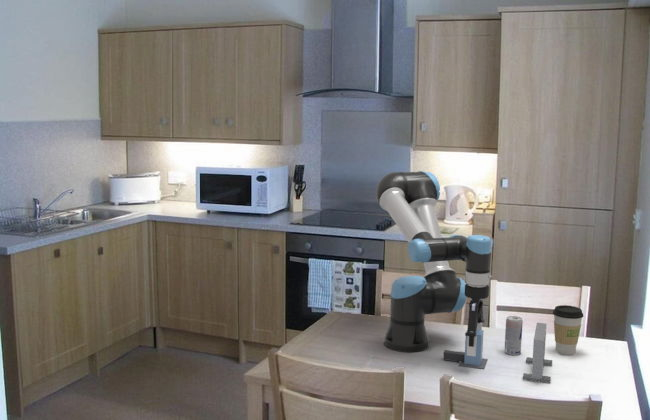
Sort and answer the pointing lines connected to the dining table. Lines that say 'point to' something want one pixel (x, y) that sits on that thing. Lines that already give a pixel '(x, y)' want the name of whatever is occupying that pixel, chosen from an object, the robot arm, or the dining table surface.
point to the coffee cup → (567, 328)
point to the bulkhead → (538, 356)
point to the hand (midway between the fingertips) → (474, 348)
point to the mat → (475, 365)
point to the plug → (463, 355)
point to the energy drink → (513, 335)
